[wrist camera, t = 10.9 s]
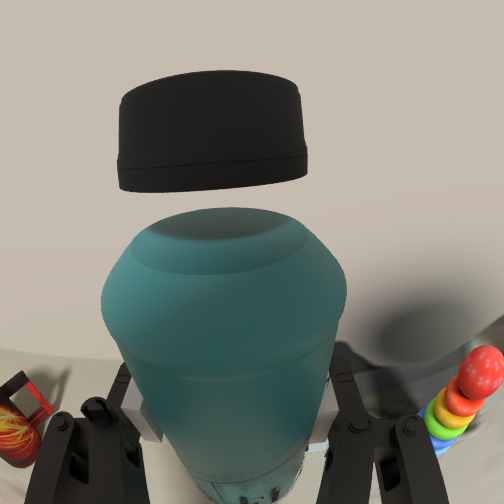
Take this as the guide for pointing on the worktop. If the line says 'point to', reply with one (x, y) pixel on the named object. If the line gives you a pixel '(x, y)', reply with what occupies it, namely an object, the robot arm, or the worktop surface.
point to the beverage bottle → (224, 283)
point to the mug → (20, 424)
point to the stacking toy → (463, 397)
